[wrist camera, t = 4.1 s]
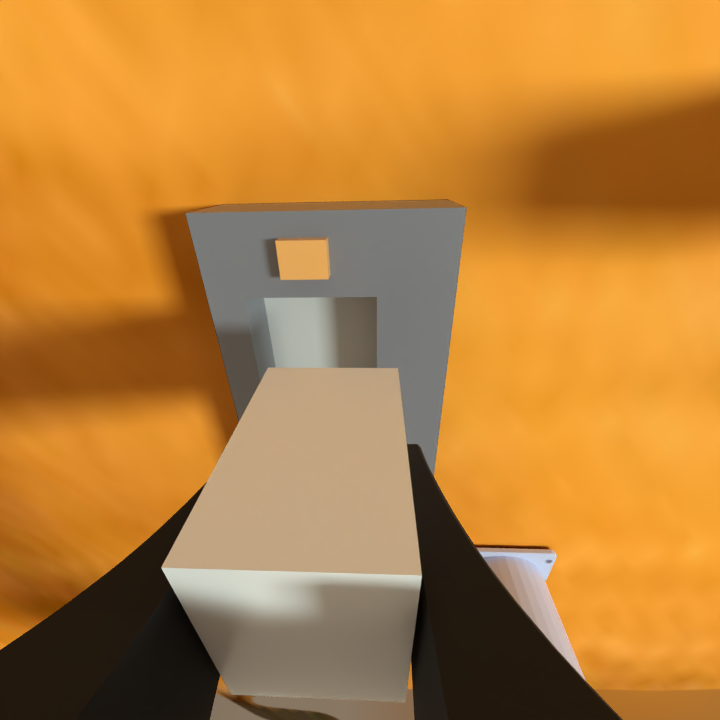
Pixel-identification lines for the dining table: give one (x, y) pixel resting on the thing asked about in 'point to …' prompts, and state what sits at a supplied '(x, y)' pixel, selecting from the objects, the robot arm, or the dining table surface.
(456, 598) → the robot arm
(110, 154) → the dining table surface
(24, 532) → the dining table surface
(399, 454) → the plug
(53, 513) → the dining table surface
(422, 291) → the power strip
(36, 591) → the dining table surface
